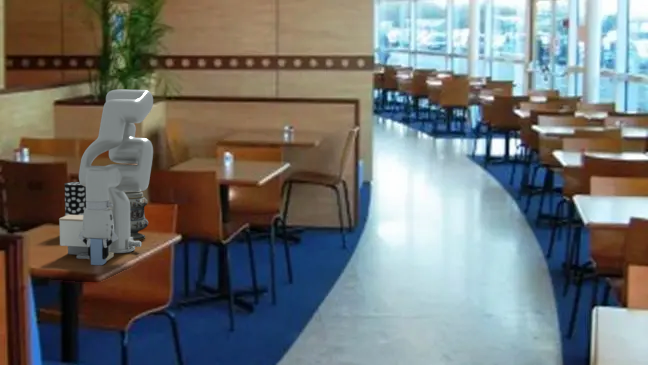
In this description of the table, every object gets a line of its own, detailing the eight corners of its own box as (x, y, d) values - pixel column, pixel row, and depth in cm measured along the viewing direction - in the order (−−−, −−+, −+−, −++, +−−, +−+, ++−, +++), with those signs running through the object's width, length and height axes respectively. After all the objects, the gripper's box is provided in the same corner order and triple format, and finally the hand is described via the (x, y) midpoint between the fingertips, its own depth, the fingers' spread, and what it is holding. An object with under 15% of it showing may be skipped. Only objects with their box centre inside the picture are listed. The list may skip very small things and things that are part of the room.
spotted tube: (89, 231, 391) (88, 182, 388) (85, 235, 383) (84, 185, 380) (68, 231, 391) (67, 182, 388) (63, 235, 382) (62, 185, 380)
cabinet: (101, 254, 350) (101, 215, 348) (93, 259, 342) (92, 220, 340) (69, 253, 352) (68, 214, 350) (59, 258, 344) (59, 218, 342)
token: (95, 257, 348) (95, 253, 348) (90, 260, 343) (90, 256, 343) (81, 256, 349) (81, 252, 349) (76, 259, 344) (76, 255, 344)
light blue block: (115, 256, 347) (115, 231, 346) (102, 265, 334) (101, 239, 333) (104, 256, 348) (104, 231, 346) (90, 264, 335) (90, 238, 333)
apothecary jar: (127, 233, 388) (127, 188, 386) (154, 236, 384) (153, 191, 382) (110, 239, 377) (110, 193, 375) (138, 242, 373) (137, 195, 370)
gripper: (124, 204, 336) (125, 256, 339) (78, 202, 338) (79, 254, 341) (117, 208, 329) (118, 261, 331) (69, 206, 331) (70, 259, 333)
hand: (98, 257), depth 336 cm, fingers closed on light blue block, 4 cm apart
